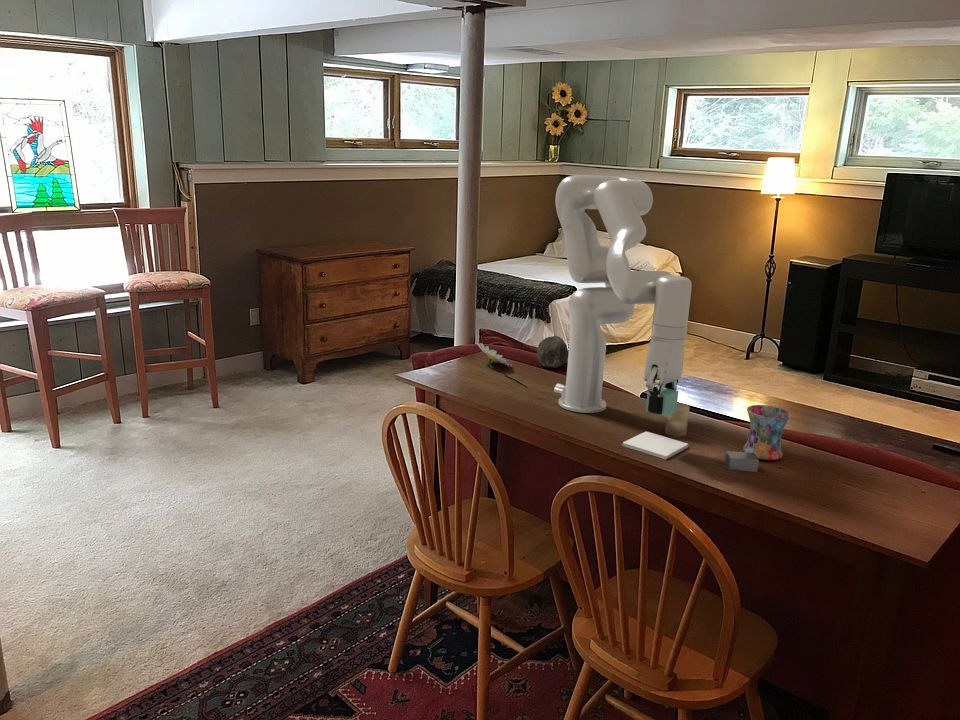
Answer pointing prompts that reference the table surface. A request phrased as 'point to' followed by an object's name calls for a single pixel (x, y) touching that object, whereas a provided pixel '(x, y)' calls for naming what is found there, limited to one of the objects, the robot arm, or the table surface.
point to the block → (667, 401)
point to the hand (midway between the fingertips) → (660, 409)
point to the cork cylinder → (678, 421)
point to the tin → (741, 461)
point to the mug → (766, 431)
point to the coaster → (655, 445)
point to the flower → (494, 356)
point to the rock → (552, 352)
